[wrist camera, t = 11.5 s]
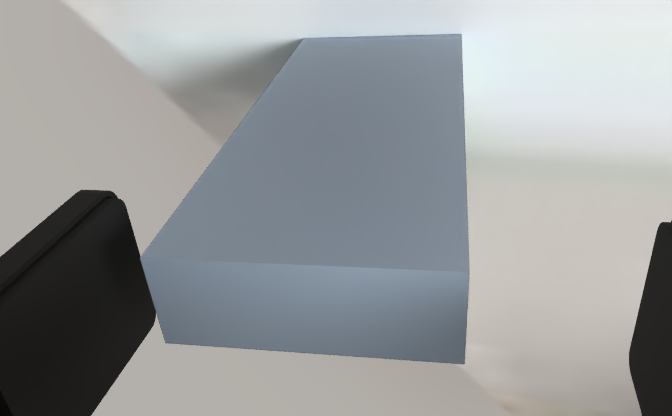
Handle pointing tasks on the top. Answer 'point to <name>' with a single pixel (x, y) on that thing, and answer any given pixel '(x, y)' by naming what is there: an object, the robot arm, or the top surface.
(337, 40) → the domino
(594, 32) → the top surface
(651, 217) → the top surface
